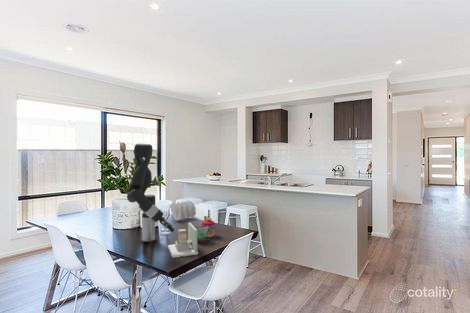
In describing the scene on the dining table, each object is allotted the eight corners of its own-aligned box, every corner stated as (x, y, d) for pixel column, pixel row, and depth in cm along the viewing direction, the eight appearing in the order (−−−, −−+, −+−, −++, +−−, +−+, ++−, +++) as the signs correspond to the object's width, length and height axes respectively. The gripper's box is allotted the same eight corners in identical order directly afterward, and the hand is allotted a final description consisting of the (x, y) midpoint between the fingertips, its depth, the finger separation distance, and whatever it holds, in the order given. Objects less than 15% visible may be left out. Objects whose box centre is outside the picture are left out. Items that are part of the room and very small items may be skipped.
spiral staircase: (195, 221, 272) (175, 225, 253) (185, 211, 283) (165, 214, 263) (201, 206, 268) (181, 208, 249) (191, 196, 278) (171, 198, 259)
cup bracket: (167, 247, 185) (167, 224, 185) (191, 244, 191) (191, 222, 191) (172, 257, 167) (172, 232, 166) (198, 254, 172) (198, 229, 172)
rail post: (178, 247, 180) (178, 229, 180) (184, 246, 182) (184, 229, 182) (179, 250, 176) (179, 231, 176) (186, 249, 178) (186, 230, 177)
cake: (217, 235, 213) (217, 216, 213) (207, 238, 205) (207, 218, 205) (208, 232, 220) (208, 214, 220) (198, 235, 212) (198, 216, 212)
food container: (196, 244, 192) (196, 230, 192) (192, 241, 197) (192, 228, 197) (211, 240, 199) (211, 227, 199) (207, 238, 204) (207, 225, 204)
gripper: (159, 210, 166) (178, 227, 171) (157, 206, 179) (174, 222, 184) (150, 220, 164) (169, 236, 169) (148, 215, 177) (166, 230, 182)
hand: (172, 229), depth 176 cm, fingers open, 8 cm apart
